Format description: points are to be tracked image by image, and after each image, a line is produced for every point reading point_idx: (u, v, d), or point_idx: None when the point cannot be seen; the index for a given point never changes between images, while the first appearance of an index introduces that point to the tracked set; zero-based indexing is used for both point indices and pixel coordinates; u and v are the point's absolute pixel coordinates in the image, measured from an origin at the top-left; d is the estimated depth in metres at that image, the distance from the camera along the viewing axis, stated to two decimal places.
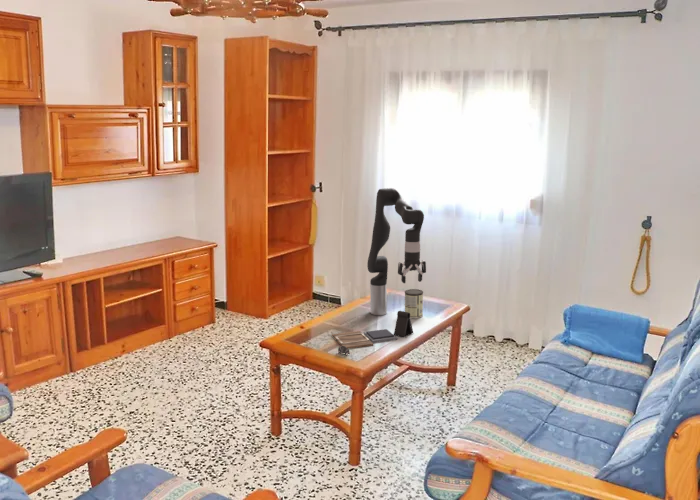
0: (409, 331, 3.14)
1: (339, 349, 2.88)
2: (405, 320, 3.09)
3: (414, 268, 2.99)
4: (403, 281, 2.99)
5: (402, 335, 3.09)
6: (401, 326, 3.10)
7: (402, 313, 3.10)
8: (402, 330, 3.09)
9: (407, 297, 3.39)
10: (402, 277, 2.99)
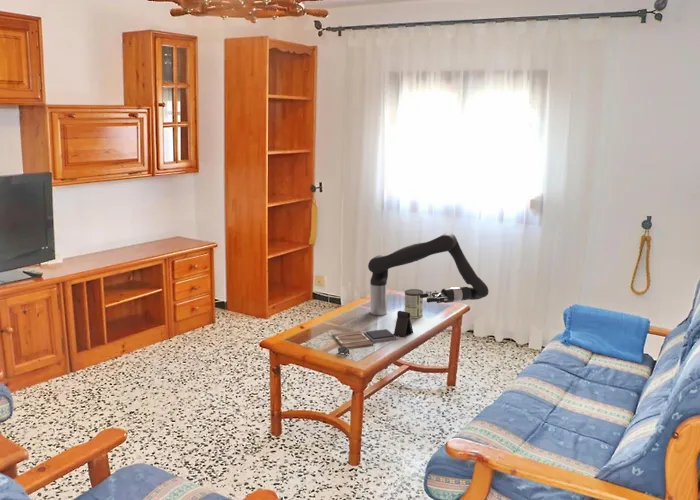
0: (409, 331, 3.14)
1: (339, 349, 2.88)
2: (405, 320, 3.09)
3: None
4: (429, 301, 3.09)
5: (402, 335, 3.09)
6: (401, 326, 3.10)
7: (402, 313, 3.10)
8: (402, 330, 3.09)
9: (407, 297, 3.39)
10: (433, 301, 3.09)
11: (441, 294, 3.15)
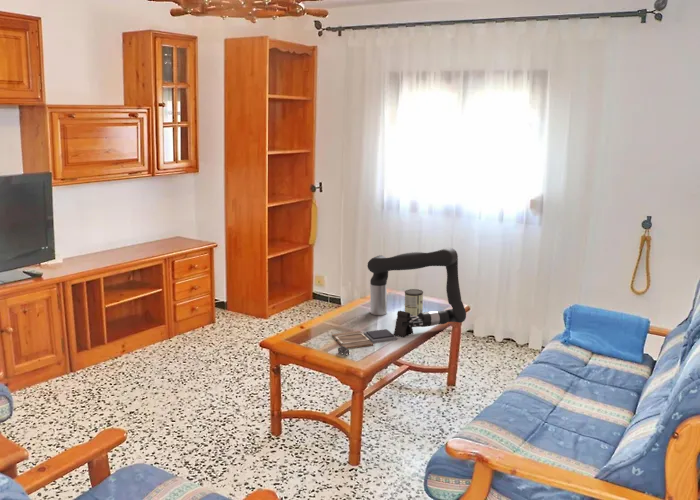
0: (409, 331, 3.14)
1: (339, 349, 2.88)
2: (405, 320, 3.09)
3: None
4: (403, 325, 3.08)
5: (402, 335, 3.09)
6: (401, 326, 3.10)
7: (402, 313, 3.10)
8: (402, 329, 3.09)
9: (407, 297, 3.39)
10: (407, 325, 3.09)
11: None
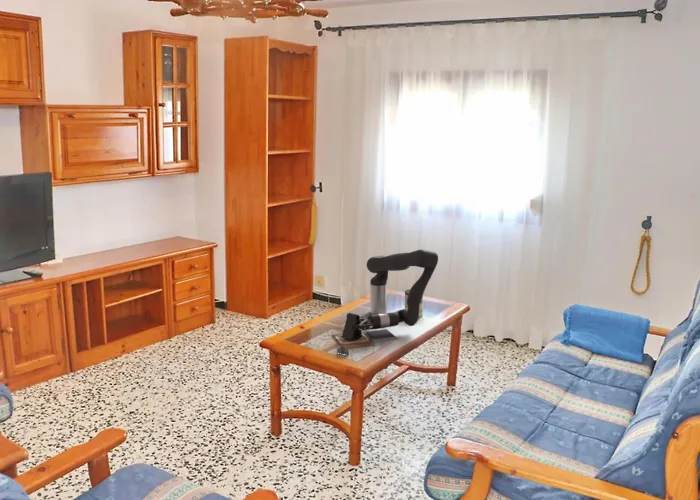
0: (358, 335, 3.05)
1: (338, 350, 2.87)
2: (354, 322, 3.01)
3: None
4: (353, 328, 2.98)
5: (350, 338, 3.00)
6: (349, 328, 3.01)
7: (351, 315, 3.02)
8: (350, 332, 3.01)
9: (407, 297, 3.39)
10: (357, 328, 2.99)
11: None
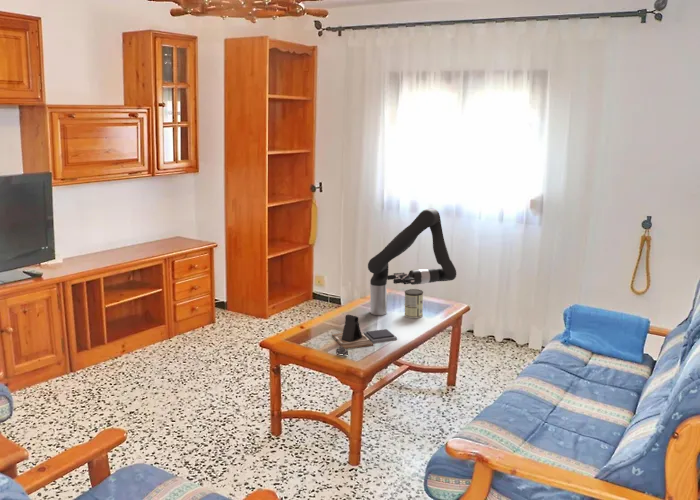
0: (358, 335, 3.05)
1: (338, 350, 2.86)
2: (353, 324, 3.00)
3: None
4: (395, 282, 3.08)
5: (349, 340, 3.00)
6: (349, 330, 3.01)
7: (350, 317, 3.02)
8: (349, 334, 3.01)
9: (407, 297, 3.39)
10: (399, 282, 3.08)
11: (408, 276, 3.14)
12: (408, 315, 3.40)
